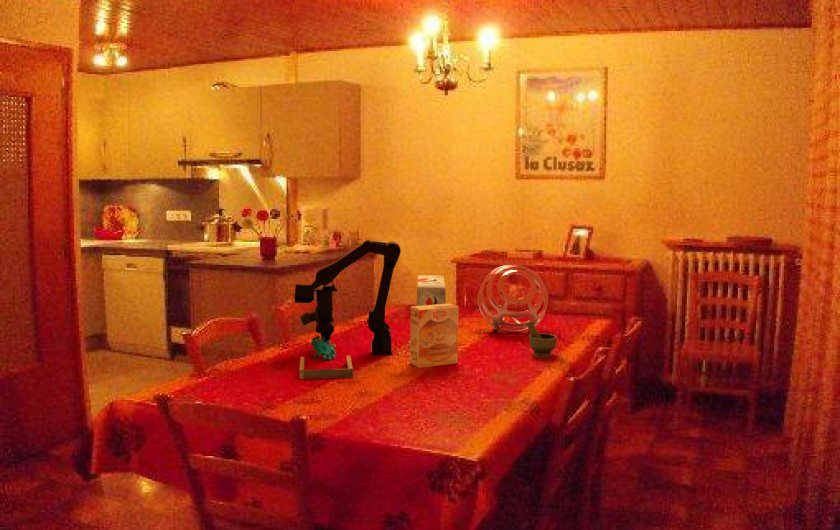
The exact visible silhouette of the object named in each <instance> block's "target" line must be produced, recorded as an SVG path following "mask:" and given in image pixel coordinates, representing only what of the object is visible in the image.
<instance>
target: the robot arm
mask: <svg viewBox="0 0 840 530" xmlns="http://www.w3.org/2000/svg"><path fill="white" fill-rule="evenodd" d="M401 251H402V249H401V247H400V244H399V243H398V242H396V241H389V242H383V241H375V240H370V239H366V240H364V241H363V242H362V243H361V244H360V245H357V246H356V247H355V248H354V249H352V250H351V251H349V252H348V253H346V254H345V255H344V256H342V257H340V258H339V259H337V260H336V261H334V262H331V263H329V264H327V265H325V266H322V267H320V268H319V269H318V270H317V272H316V274H315V279H314V280H313V281H312V282H311V283H310V284H309V283H307V284H304V283H303V284H301V283H296V284H295V288H294V295H293V296H294V304H312V302H314V301H315V300H316V302H315V303H316V306H315V309H313V310H310V311H308V312H305V313H302V314H300V315H299V318H300V322H301V324H302V325H303V326H307V325H308V324H310V323H313V322H315V323H316V324H315V333H319V334H320V338H321V337H322V336H323V337H325V340H324V342H327V340H329V341H330V339H331V337H332V334H333V333H334V332H335V325H334V293H333V292H338V290H339V288H338V286H336V285H335V283H332V282H333V280H335V278H337V276H338V275H339V274H341V273H342V271H344V270H345V269H347V268H349V267H350V266H351V265H352V264H353V263H356V262H357V261H358V260H360V259H361V258H362V257H364V256H366V255H367V254H368V253H373V254H376V255H380V256H383V268H382V272H381V277H380V281H379V285H378V290H377V295H376V301H375V304H374V306H373V308H370V307H369V308H368V316H367V318H366V323H367V324H368V325H367V327H368V329H369V331H370V332H372V333H373V334H372V335H373V336H372V338H371V340H370V341H371V342H370V343H371V345H370V346H371V348H370V349H371V352H372V354H373V355H374V356H375V355H376V356H377V355H393V351H392V335H391V326H390V325H389V324H388V323H387V322H386V306H387V301H388V297H389V291H390V287H391V283H392V278H393V273H394V270H395V267H396V265H397V262H398V260H399V259H400V256H401ZM330 283H332V284H331V285H330ZM321 286H322V287H321ZM320 287H321V288H320Z"/></svg>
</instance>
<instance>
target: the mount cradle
mask: <svg viewBox="0 0 840 530" xmlns="http://www.w3.org/2000/svg"><path fill="white" fill-rule="evenodd" d="M299 359H300V360H299V370H298V373H299V380H303V379H304V380H305V379H307V380H309V379H310V380H311V379H341V378H342V379H345V378H346V379H347V378H353V377H354V371H353V370H354V368H353V364H352V358H351V355H346V367H347V368H331V369H330V368H326V369H324V368H322V369H305V357H304V356H300V358H299Z"/></svg>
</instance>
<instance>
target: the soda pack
mask: <svg viewBox="0 0 840 530" xmlns="http://www.w3.org/2000/svg"><path fill="white" fill-rule="evenodd" d="M445 281H446V280H445V278H444V275H441V274H440V275H439V274H437V275H435V274H418V275H417V283H416V286H417V287H416V306H424V305H436V304H446V292H447V291H446V282H445Z"/></svg>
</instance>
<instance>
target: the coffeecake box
mask: <svg viewBox="0 0 840 530" xmlns="http://www.w3.org/2000/svg"><path fill="white" fill-rule="evenodd" d="M459 310H460V308H459V306H458V305H455V304H453V303H445V304H436V305H424V306H417V305H413V306H410V327H409V328H410V329H409V330H410V331H409V332H410V333H409V334H410V335H409V336H410V337H409V339H410V341H409V343H410V344H409V350H410V351H409V364H411V365H412V366H414V367H415V368H418V369H422V368H431V367H437V366H445V365H452V364H458V356H459V354H458V353H459V351H458V350H459V347H458V346H459Z"/></svg>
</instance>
